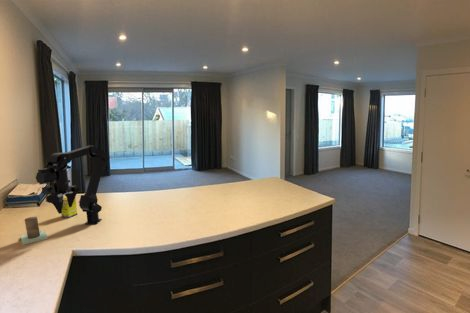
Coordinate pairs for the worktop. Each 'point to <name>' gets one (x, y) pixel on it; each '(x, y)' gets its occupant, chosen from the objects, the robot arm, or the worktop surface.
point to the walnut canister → (32, 227)
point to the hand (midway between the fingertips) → (65, 210)
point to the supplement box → (68, 209)
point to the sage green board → (26, 240)
